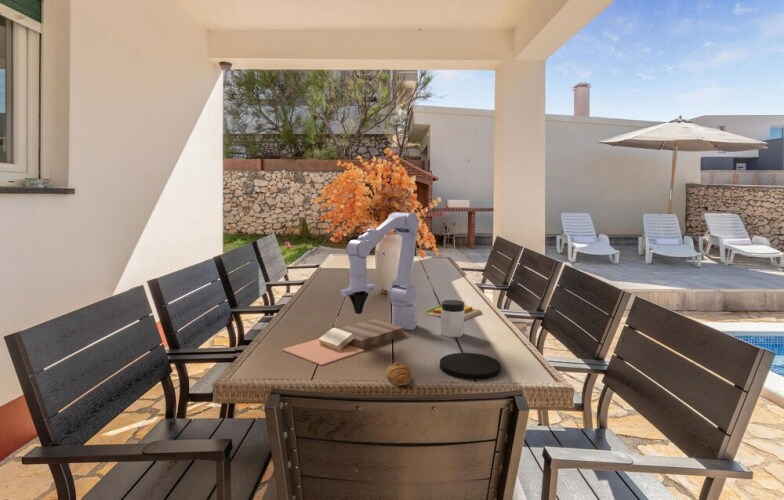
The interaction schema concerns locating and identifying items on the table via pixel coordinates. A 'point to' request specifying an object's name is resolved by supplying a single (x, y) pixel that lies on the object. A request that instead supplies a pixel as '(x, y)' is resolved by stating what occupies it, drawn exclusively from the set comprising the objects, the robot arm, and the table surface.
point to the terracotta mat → (321, 352)
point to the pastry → (398, 374)
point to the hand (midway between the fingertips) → (358, 313)
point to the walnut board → (372, 333)
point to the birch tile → (336, 338)
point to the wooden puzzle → (468, 312)
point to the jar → (452, 318)
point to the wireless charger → (470, 366)
